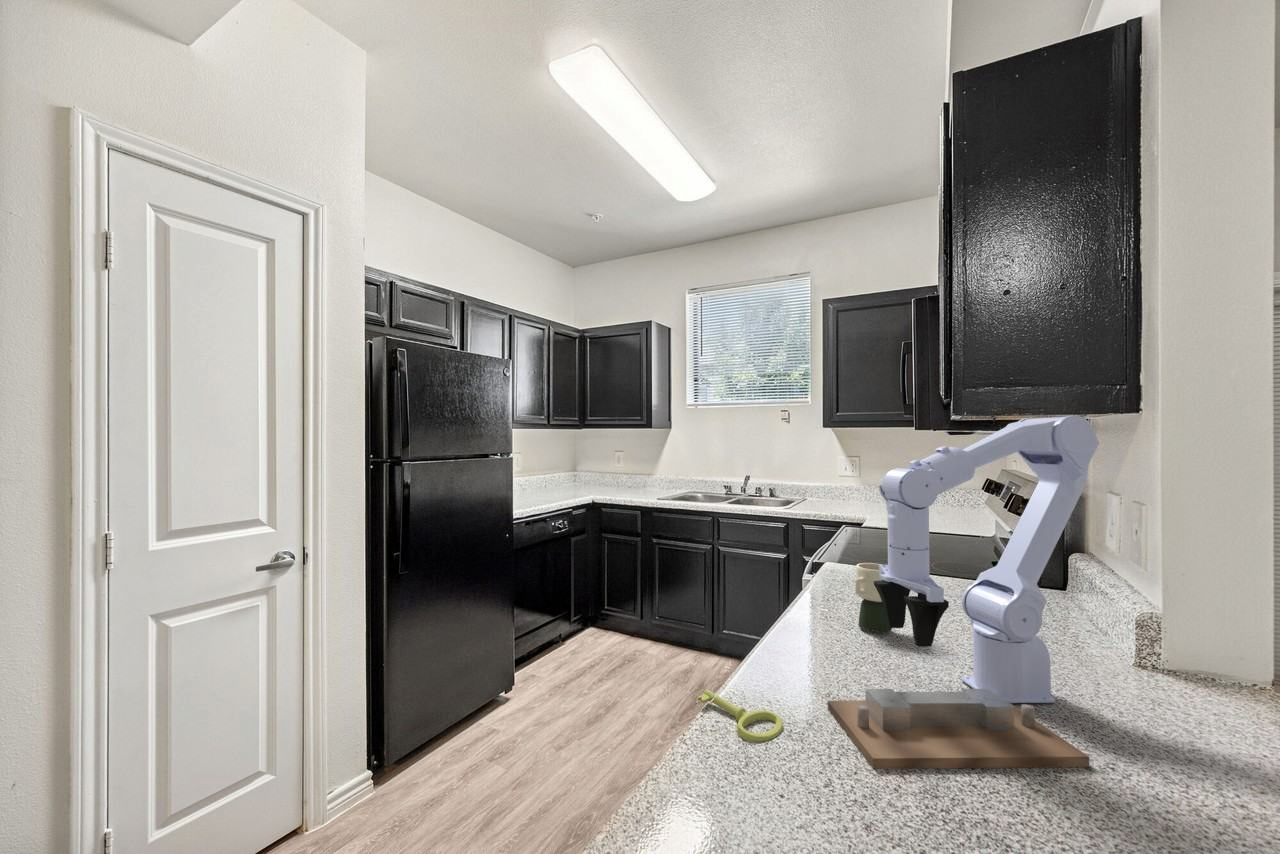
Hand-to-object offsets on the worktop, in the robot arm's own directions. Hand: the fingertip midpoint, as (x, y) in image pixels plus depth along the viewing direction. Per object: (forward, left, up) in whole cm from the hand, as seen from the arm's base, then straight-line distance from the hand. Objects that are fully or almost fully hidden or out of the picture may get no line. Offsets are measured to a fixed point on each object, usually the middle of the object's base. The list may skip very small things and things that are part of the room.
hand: (909, 636), depth 81 cm
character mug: (-8, -28, -9) cm, 30 cm away
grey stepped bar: (+1, +10, -8) cm, 12 cm away
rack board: (+1, +11, -9) cm, 14 cm away
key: (+27, +7, -10) cm, 30 cm away
